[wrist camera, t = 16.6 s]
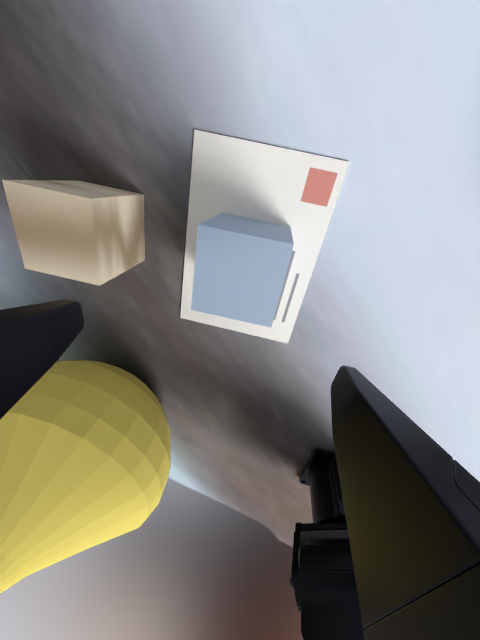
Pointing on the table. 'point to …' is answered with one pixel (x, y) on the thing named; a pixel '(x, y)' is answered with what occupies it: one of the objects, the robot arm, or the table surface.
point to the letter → (262, 213)
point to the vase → (77, 464)
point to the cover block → (77, 228)
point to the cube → (240, 268)
